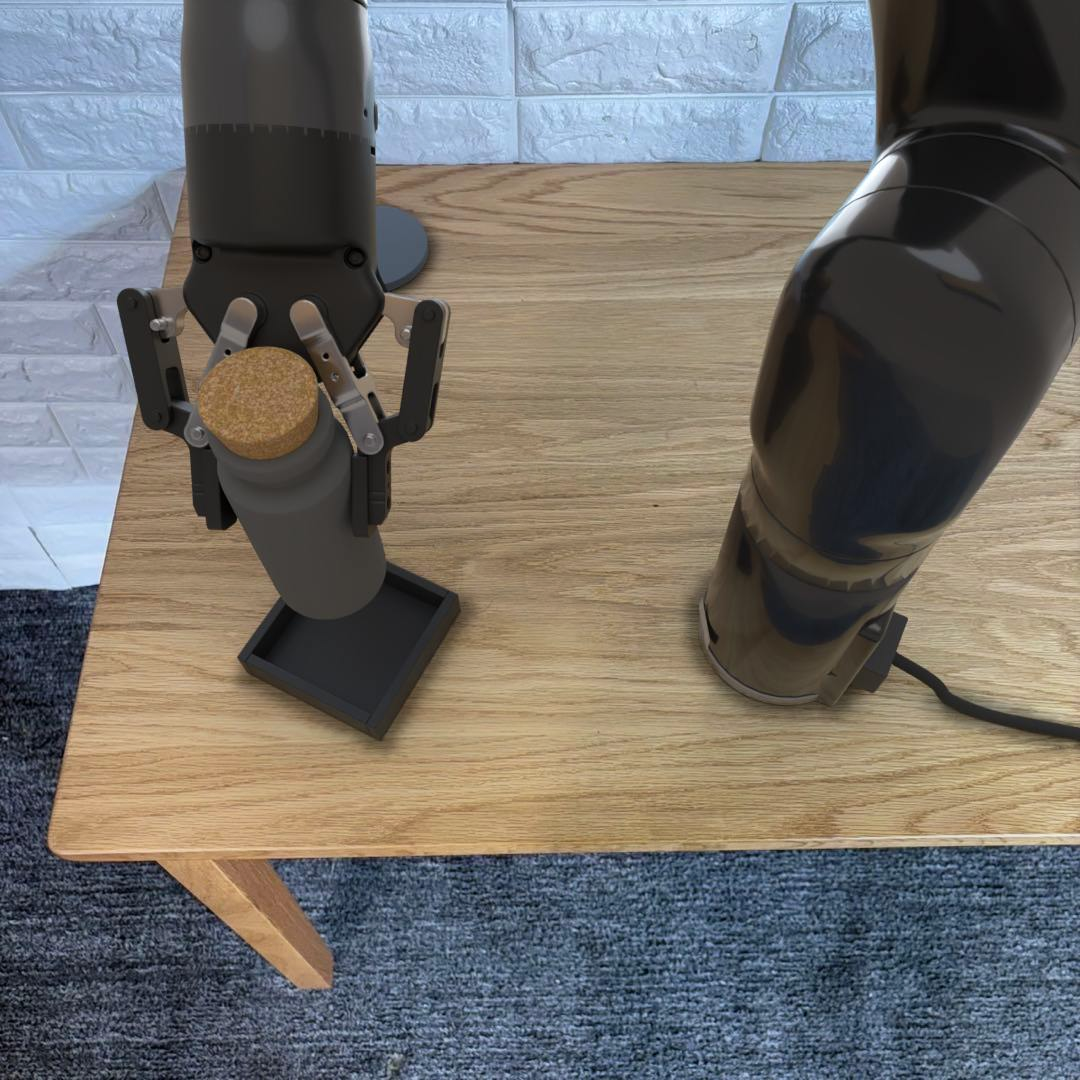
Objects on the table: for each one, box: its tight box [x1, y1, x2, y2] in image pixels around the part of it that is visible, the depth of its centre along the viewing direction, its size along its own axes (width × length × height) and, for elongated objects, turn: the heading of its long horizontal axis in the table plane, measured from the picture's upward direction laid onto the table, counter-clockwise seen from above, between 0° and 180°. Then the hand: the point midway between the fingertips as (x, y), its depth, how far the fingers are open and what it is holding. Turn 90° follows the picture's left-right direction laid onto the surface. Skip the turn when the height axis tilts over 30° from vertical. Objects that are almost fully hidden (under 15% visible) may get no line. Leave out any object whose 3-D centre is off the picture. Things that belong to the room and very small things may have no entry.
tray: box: [236, 560, 462, 743], centre depth 58 cm, size 9×9×2 cm
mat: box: [376, 204, 429, 292], centre depth 75 cm, size 8×8×1 cm
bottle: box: [196, 347, 387, 619], centre depth 46 cm, size 6×6×15 cm
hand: (294, 528), depth 45 cm, fingers closed on bottle, 6 cm apart
